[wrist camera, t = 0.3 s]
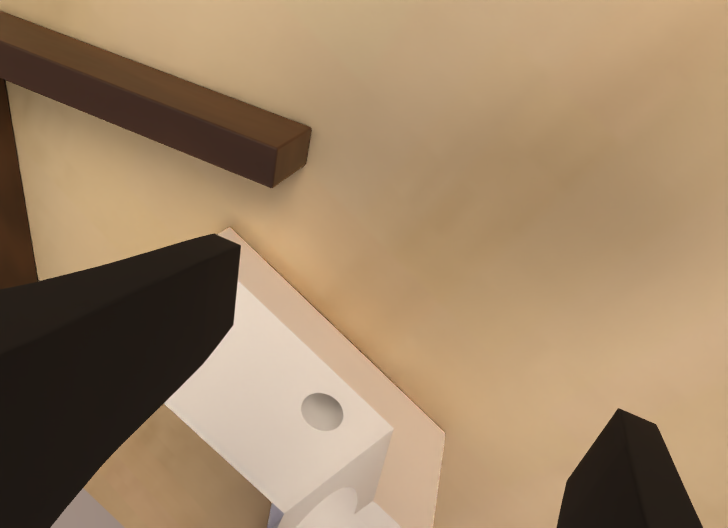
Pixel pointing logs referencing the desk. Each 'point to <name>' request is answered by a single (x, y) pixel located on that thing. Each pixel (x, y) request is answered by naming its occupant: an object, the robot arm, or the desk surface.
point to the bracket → (310, 414)
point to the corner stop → (129, 121)
